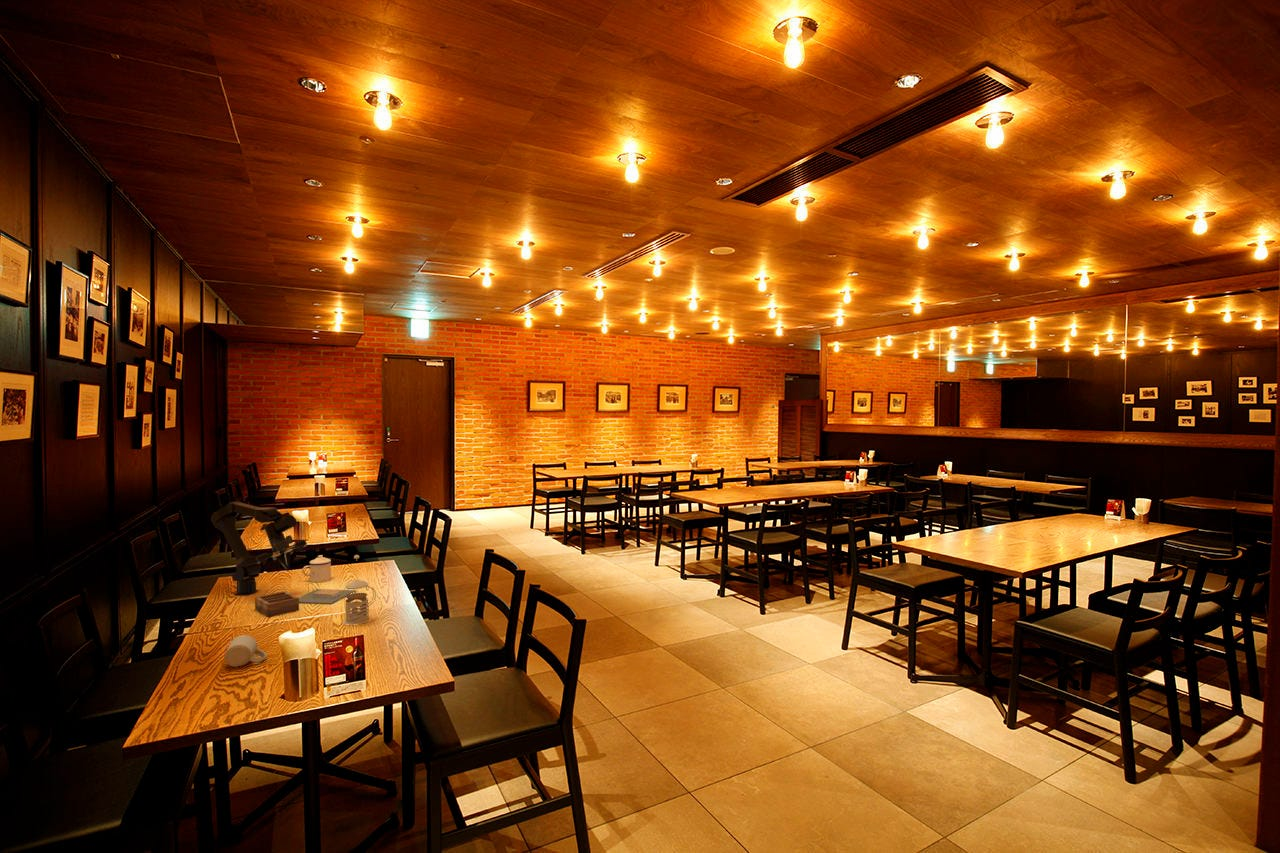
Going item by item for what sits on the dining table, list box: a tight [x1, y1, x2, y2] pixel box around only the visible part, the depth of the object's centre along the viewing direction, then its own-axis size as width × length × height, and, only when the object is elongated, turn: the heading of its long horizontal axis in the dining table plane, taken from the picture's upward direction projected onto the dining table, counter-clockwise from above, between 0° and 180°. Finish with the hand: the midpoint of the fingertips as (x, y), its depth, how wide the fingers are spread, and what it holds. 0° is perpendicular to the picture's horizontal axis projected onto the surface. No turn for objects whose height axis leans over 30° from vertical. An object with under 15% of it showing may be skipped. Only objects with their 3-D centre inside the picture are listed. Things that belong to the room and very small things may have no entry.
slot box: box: [254, 590, 300, 618], centre depth 239 cm, size 14×11×5 cm
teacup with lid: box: [302, 554, 332, 583], centre depth 282 cm, size 12×9×12 cm
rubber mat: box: [298, 588, 357, 605], centre depth 257 cm, size 18×18×1 cm
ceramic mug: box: [224, 634, 267, 668], centre depth 189 cm, size 11×8×8 cm
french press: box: [342, 554, 377, 626], centre depth 228 cm, size 10×12×25 cm
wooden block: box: [313, 588, 342, 599], centre depth 255 cm, size 2×6×9 cm
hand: (288, 570), depth 256 cm, fingers closed
